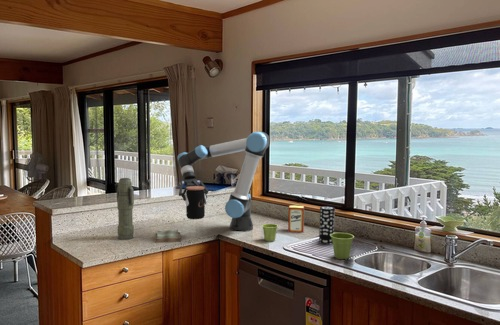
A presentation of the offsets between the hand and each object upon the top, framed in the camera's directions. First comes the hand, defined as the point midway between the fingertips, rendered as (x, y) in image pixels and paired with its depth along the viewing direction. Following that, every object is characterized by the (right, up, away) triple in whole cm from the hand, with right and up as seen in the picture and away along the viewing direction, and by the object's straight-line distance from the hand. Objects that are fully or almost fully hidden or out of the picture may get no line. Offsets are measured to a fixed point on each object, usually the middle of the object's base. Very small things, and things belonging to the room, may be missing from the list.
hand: (197, 203), depth 239 cm
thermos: (-42, -20, +2) cm, 47 cm away
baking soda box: (+60, -20, +23) cm, 67 cm away
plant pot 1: (+42, -21, 0) cm, 47 cm away
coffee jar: (-1, -9, +3) cm, 9 cm away
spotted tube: (+75, -22, -3) cm, 78 cm away
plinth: (-17, -20, 0) cm, 27 cm away
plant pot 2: (+77, -24, -30) cm, 86 cm away
